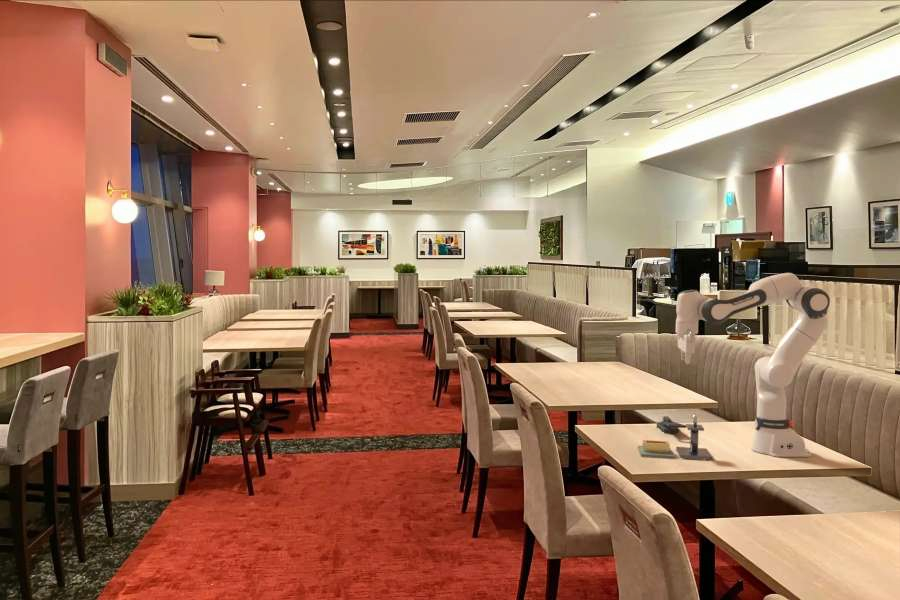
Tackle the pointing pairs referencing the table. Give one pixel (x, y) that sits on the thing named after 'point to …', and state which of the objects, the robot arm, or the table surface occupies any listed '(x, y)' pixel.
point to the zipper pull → (669, 426)
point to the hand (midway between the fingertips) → (685, 362)
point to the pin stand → (694, 444)
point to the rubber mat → (656, 453)
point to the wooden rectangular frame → (656, 446)
